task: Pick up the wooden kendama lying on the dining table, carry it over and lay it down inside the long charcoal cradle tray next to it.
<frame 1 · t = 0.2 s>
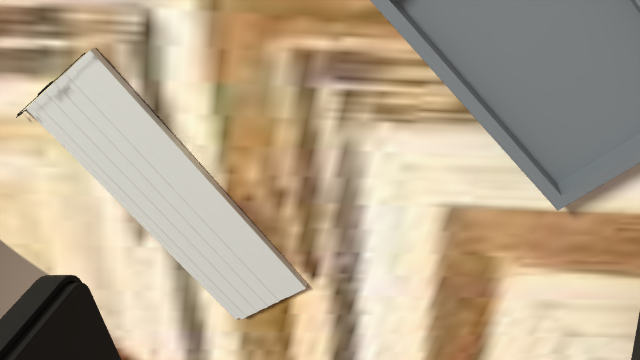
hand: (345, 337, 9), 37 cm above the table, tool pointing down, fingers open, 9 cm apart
cradle tray: (540, 38, 42), on the table
baseboard: (172, 198, 56), on the table
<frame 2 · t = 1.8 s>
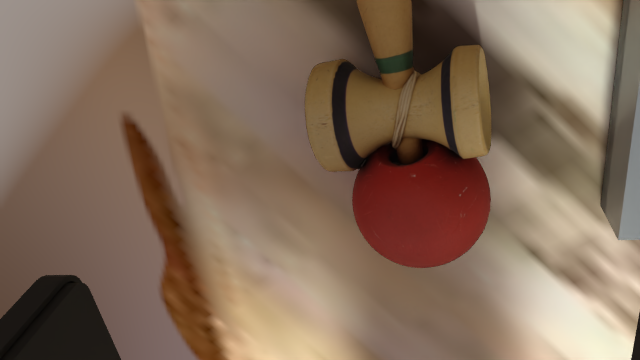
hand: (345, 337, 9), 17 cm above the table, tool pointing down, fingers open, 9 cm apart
kendama: (395, 46, 24), on the table
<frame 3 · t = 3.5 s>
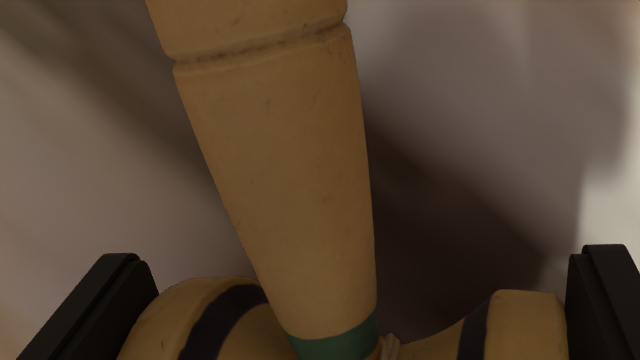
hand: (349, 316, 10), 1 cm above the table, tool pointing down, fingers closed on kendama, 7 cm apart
kendama: (347, 230, 11), on the table, touching gripper
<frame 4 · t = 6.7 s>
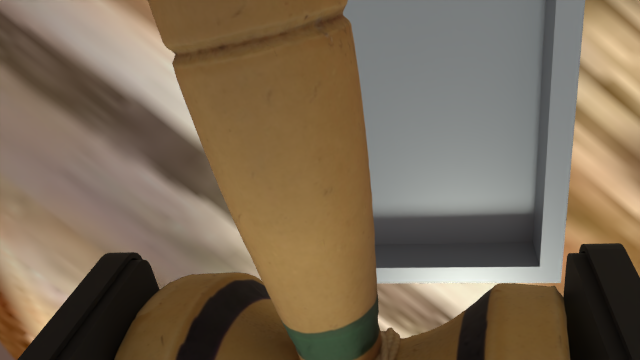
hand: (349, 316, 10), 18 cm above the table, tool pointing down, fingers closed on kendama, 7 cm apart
cradle tray: (399, 36, 25), on the table
kendama: (346, 225, 11), point 16 cm above the table, touching gripper
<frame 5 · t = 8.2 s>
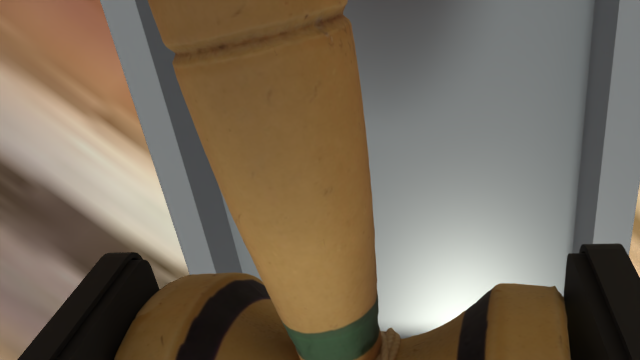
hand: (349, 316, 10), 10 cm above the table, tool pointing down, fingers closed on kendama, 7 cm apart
cradle tray: (383, 114, 18), on the table
kendama: (346, 225, 11), point 8 cm above the table, touching gripper
when the fingers open (4 cm above the table, at t = 9.8 s): kendama drops 2 cm, resting on cradle tray.
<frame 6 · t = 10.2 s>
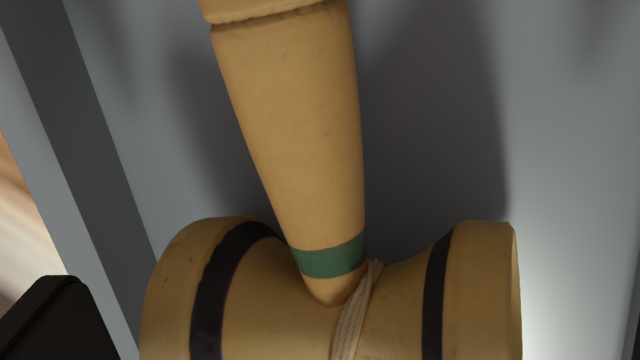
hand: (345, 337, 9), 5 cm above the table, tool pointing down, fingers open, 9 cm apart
cradle tray: (371, 188, 14), on the table
kendama: (342, 180, 13), point 1 cm above the table, touching cradle tray
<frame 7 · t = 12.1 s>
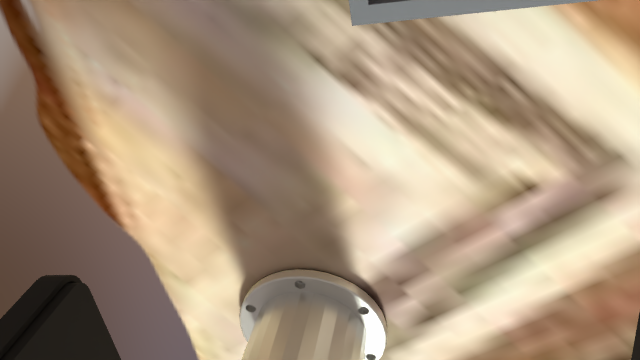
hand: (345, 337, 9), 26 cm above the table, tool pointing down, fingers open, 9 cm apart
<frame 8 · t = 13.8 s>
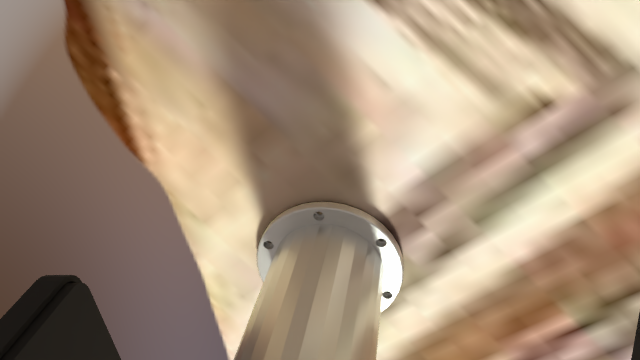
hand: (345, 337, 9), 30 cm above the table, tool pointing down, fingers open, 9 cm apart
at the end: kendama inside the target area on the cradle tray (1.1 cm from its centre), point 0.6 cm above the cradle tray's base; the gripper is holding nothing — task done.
